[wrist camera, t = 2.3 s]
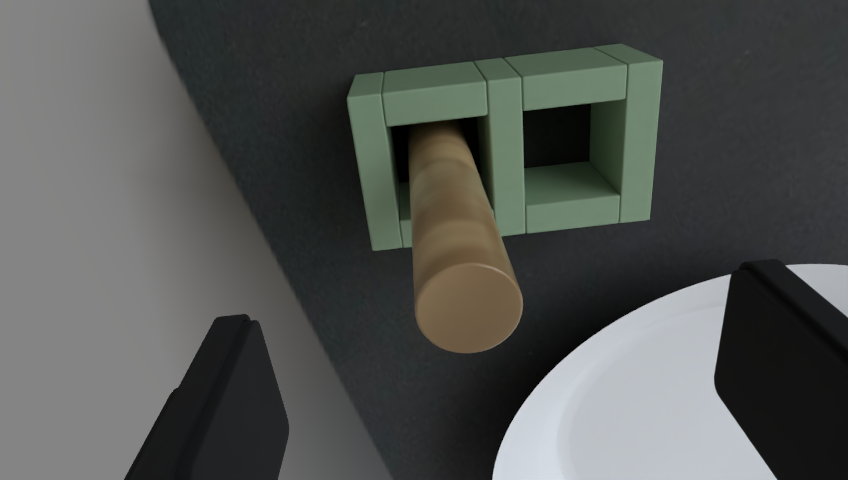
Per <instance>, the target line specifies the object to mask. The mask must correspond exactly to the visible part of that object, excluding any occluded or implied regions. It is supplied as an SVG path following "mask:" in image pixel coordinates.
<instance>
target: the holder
mask: <svg viewBox="0 0 848 480" xmlns="http://www.w3.org/2000/svg"><path fill="white" fill-rule="evenodd" d="M662 68H663V60H660V59H658V58H655V57H653V56H651V55H648V54H646V53H643V52H641V51H638V50H636V49H633V48H631V47H628V46H626V45H624V44H613V45H604V46H596V47H593V48H591V47H589V48H580V49H572V50H563V51H555V52H546V53H538V54H530V55H521V56H513V57H505V58H504V59H502V58H496V59H488V60H479V61H474V63H473V62H462V63H454V64H445V65H437V66H429V67H420V68H412V69H403V70H395V71H386V72H385V73H383V72H378V73H369V74H361V75H356V76H355V77H354V80H353V82H352V85H351V88H350V91H349V93H348V96H347V105H348V111H349V117H350V123H351V129H352V134H353V140H354V146H355V152H356V158H357V164H358V170H359V175H360V181H361V187H362V193H363V199H364V205H365V210H366V216H367V222H368V228H369V234H370V240H371V246H372V250H373V251H378V250H386V249H395V248H402V246H403V247H412V231H411V208H410V185H409V182H402V183H400V184H399V178H398V171H397V164H396V157H395V149H394V142H393V135H392V128H391V126H400V125H409V124H417V123H426V122H434V121H443V120H451V119H460V118H468V117H477V128H478V143H479V159H480V174H481V175H480V174H479V177H480V179H481V182H482V185H483V188H484V190H485V193H486V196H487V199H488V202H489V204H490V207H491V210H492V213H493V216H494V218H495V221H496V224H497V227H498V230H499V232H500V235H501V236H509V235H517V234H524V233H525V232H526V233H536V232H545V231H554V230H562V229H571V228H580V227H589V226H598V225H606V224H615V223H618V222H619V223H625V222H634V221H643V220H649V219H650V209H651V197H652V186H653V174H654V162H655V150H656V139H657V127H658V115H659V103H660V91H661V80H662ZM588 103H591V120H590V155H589V161H584V162H576V163H567V164H559V165H550V166H541V167H533V168H524V152H523V116H522V110H524V111H528V110H537V109H545V108H554V107H563V106H571V105H580V104H588Z"/></svg>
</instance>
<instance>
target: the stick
mask: <svg viewBox="0 0 848 480" xmlns="http://www.w3.org/2000/svg"><path fill="white" fill-rule="evenodd" d="M408 162H409V185H410V208H411V231H412V255H413V278H414V301H415V317H416V321H417V324H418V326H419V328H420V330H421V331H422V333H423V334H424V335H425V337H426V338H428V339H429V340H430V341H431V342H432V343H433V344H435V345H436V346H438V347H440V348H442V349H445V350H448V351H451V352H456V353H476V352H481V351H485V350H488V349H490V348H493V347H494V346H496V345H498V344H500V343H501V342H503V341H504V340H505V339H506V338H508V337H509V336H510V335H511V333H512V332H513V331H514V330H515V328H516V327H517V325H518V323H519V321H520V318H521V315H522V310H523V299H522V294H521V291H520V288H519V285H518V283H517V280H516V277H515V274H514V271H513V269H512V266H511V263H510V260H509V257H508V255H507V252H506V249H505V246H504V243H503V241H502V238H501V235H500V232H499V230H498V227H497V224H496V221H495V218H494V216H493V213H492V210H491V207H490V204H489V202H488V199H487V196H486V193H485V190H484V188H483V185H482V182H481V179H480V177H479V174H478V171H477V168H476V165H475V163H474V160H473V157H472V154H471V151H470V149H469V146H468V143H467V140H466V137H465V135H464V132H463V129H462V127H461V125H460V123H459V122H458V120H457V119H451V120H443V121H434V122H426V123H417V124H411V126H410V129H409V131H408Z"/></svg>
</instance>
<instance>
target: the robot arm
mask: <svg viewBox="0 0 848 480" xmlns="http://www.w3.org/2000/svg"><path fill="white" fill-rule="evenodd" d="M714 385H715V389H716V392H717V394H718V396H719V397H720V399H721V400H722V402H723V403H724V405H725V406H726V407H727V409H728V410H729V412H730V413H731V415H732V416H733V417H734V419H735V420H736V422H737V423H738V425H739V426H740V427H741V429H742V430H743V432H744V433H745V435H746V436H747V437H748V439H749V440H750V442H751V443H752V445H753V446H754V447H755V449H756V450H757V452H758V453H759V455H760V456H761V457H762V459H763V460H764V462H765V463H766V465H767V466H768V467H769V469H770V470H771V472H772V473H773V475H774V476H775V477H776V479H777V480H848V317H847V316H846V315H844V314H843V313H842V312H841V311H840V310H838V309H837V308H836V307H835V306H834V305H832V304H831V303H830V302H829V301H827V300H826V299H825V298H824V297H823V296H821V295H820V294H819V293H818V292H817V291H815V290H814V289H813V288H812V287H811V286H809V285H808V284H807V283H806V282H805V281H803V280H802V279H801V278H800V277H799V276H797V275H796V274H795V273H794V272H792V271H791V270H790V269H789V268H788V267H786V266H785V265H784V264H783V263H782V262H780V261H778V260H777V259H770V260H760V261H751V262H744V263H742V264H741V266H740V267H739V270H735V271H734V272H733V273H732V274H731V277H730V282H729V288H728V294H727V300H726V306H725V312H724V318H723V324H722V331H721V337H720V343H719V349H718V355H717V361H716V367H715V373H714ZM288 435H289V424H288V418H287V415H286V411H285V408H284V404H283V401H282V398H281V394H280V391H279V388H278V384H277V381H276V378H275V374H274V371H273V367H272V364H271V360H270V357H269V353H268V350H267V347H266V344H265V340H264V337H263V333H262V330H261V326H260V324H259V322H258V321H257V320H253V321H251V320H250V318H249V316H248V315H246V314H241V315H231V316H222V317H217V318H216V319H215V320H214V322H213V324H212V326H211V328H210V329H209V331H208V333H207V335H206V337H205V339H204V341H203V342H202V345H201V346H200V348H199V350H198V352H197V354H196V355H195V357H194V359H193V361H192V363H191V365H190V367H189V369H188V370H187V372H186V374H185V376H184V378H183V380H182V382H181V384H180V385H179V387H178V388H176V389H174V390H173V392H172V393H171V394H170V396H169V398H168V399H167V401H166V403H165V405H164V407H163V409H162V410H161V412H160V414H159V416H158V418H157V420H156V422H155V423H154V425H153V427H152V429H151V431H150V433H149V435H148V436H147V438H146V440H145V442H144V444H143V446H142V447H141V449H140V451H139V453H138V455H137V457H136V458H135V460H134V462H133V464H132V466H131V468H130V469H129V472H128V473H127V475H126V477H125V479H124V480H278V476H279V472H280V468H281V464H282V460H283V456H284V452H285V448H286V444H287V440H288Z"/></svg>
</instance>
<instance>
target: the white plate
mask: <svg viewBox="0 0 848 480" xmlns="http://www.w3.org/2000/svg"><path fill="white" fill-rule="evenodd" d="M785 266H786V267H788V268H789V269H790V270H791V271H792V272H794V273H795V274H796V275H797V276H799V277H800V278H801V279H802V280H803V281H805V282H806V283H807V284H808V285H809V286H811V287H812V288H813V289H814V290H815V291H817V292H818V293H819V294H820V295H821V296H823V297H824V298H825V299H826V300H827V301H829V302H830V303H831V304H832V305H834V306H835V307H836V308H837V309H838V310H840V311H841V312H842V313H843V314H844V315H846V316H847V317H848V266H845V265H832V264H799V265H785ZM730 277H731V274H730V275H726V276H722V277H718V278H715V279H711V280H708V281H705V282H701V283H698V284H695V285H692V286H689V287H687V288H684V289H681V290H679V291H676V292H673V293H671V294H668V295H666V296H664V297H661V298H659V299H657V300H655V301H653V302H650V303H648V304H646V305H644V306H642V307H640V308H638V309H636V310H634V311H632V312H631V313H629V314H627V315H625V316H623V317H622V318H620V319H618V320H617V321H615V322H613V323H612V324H610V325H608V326H607V327H605V328H604V329H602V330H601V331H599V332H598V333H596V334H595V335H593V336H592V337H591V338H589V339H588V340H587V341H585V342H584V343H582V344H581V345H580V346H579V347H577V348H576V349H575V350H574V351H572V352H571V353H570V354H569V355H568V356H567V357H565V358H564V359H563V360H562V361H561V362H560V363H559V364H558V365H557V366H556V367H555V368H554V369H552V370H551V372H550V373H549V374H548V375H547V376H546V377H545V378H544V379H543V380H542V381H541V382H540V383H539V384H538V386H537V387H536V388H535V389H534V390H533V392H532V393H531V394H530V395H529V397H528V398H527V399H526V401H525V402H524V403H523V405H522V406H521V408H520V409H519V411H518V412H517V414H516V415H515V417H514V419H513V421H512V422H511V424H510V426H509V428H508V430H507V432H506V434H505V436H504V439H503V441H502V443H501V446H500V449H499V452H498V455H497V458H496V462H495V466H494V471H493V478H492V480H777V479H776V477H775V476H774V475H773V473H772V472H771V470H770V469H769V467H768V466H767V465H766V463H765V462H764V460H763V459H762V457H761V456H760V455H759V453H758V452H757V450H756V449H755V447H754V446H753V445H752V443H751V442H750V440H749V439H748V437H747V436H746V435H745V433H744V432H743V430H742V429H741V427H740V426H739V425H738V423H737V422H736V420H735V419H734V417H733V416H732V415H731V413H730V412H729V410H728V409H727V407H726V406H725V405H724V403H723V402H722V400H721V399H720V397H719V396H718V394H717V392H716V389H715V385H714V373H715V367H716V361H717V355H718V349H719V343H720V337H721V331H722V324H723V318H724V312H725V306H726V300H727V294H728V288H729V282H730Z"/></svg>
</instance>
